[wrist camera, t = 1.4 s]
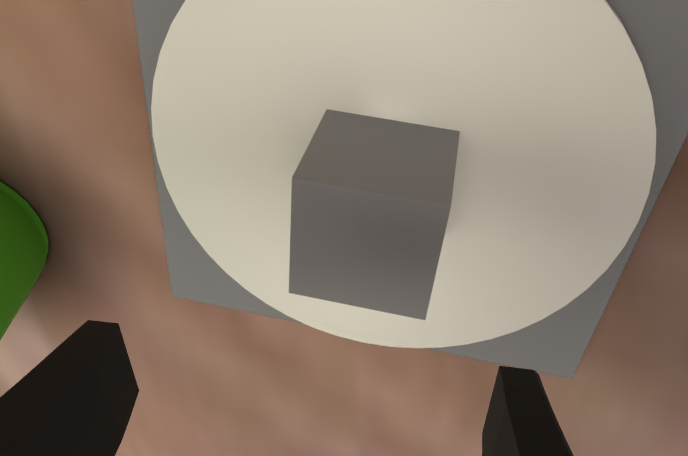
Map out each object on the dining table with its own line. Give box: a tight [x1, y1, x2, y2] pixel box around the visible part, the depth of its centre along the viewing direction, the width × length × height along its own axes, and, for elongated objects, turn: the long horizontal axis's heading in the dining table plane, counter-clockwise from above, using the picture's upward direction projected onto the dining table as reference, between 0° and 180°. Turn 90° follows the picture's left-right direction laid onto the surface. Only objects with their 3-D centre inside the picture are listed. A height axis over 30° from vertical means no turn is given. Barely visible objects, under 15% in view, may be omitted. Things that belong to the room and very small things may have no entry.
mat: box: [132, 0, 688, 379], centre depth 18 cm, size 15×15×1 cm
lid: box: [151, 0, 656, 348], centre depth 16 cm, size 14×14×4 cm
